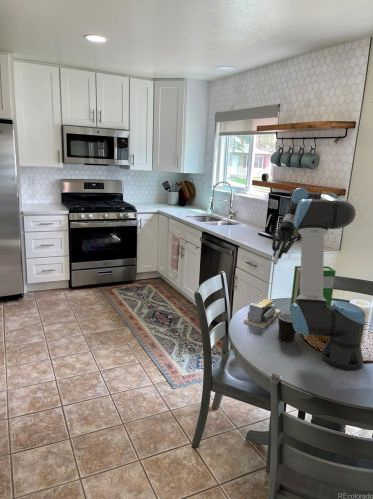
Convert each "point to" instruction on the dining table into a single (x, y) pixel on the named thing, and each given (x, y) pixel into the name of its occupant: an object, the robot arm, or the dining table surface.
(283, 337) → the coffee mug
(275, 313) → the birch board
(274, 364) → the dining table surface
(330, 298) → the hardback book
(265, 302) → the tan flat bar
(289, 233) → the robot arm
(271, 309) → the heat-sink block
